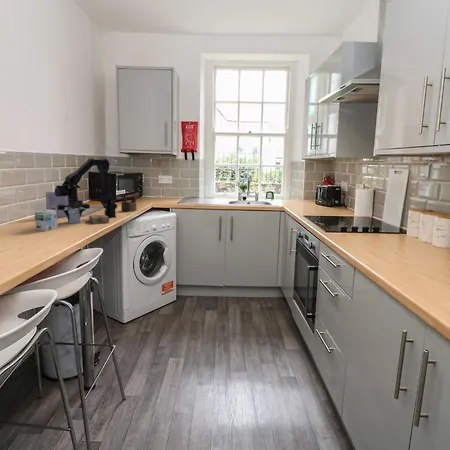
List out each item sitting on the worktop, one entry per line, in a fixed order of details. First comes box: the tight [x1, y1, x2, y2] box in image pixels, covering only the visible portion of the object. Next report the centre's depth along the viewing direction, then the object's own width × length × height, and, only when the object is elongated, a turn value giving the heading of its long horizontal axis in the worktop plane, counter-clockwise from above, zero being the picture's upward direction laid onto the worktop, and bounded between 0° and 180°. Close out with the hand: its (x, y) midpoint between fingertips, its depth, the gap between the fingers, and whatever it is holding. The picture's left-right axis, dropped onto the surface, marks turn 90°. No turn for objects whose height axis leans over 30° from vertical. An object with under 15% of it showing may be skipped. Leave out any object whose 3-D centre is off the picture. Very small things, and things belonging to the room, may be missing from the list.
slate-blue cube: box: [67, 211, 81, 224], centre depth 231 cm, size 6×6×6 cm
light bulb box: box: [34, 208, 58, 232], centre depth 208 cm, size 11×7×11 cm, turn 168°
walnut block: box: [88, 214, 110, 225], centre depth 234 cm, size 10×10×4 cm
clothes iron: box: [120, 192, 140, 213], centre depth 286 cm, size 8×16×13 cm, turn 154°
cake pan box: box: [45, 191, 76, 219], centre depth 248 cm, size 19×5×18 cm, turn 145°
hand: (74, 220), depth 232 cm, fingers closed on slate-blue cube, 6 cm apart
